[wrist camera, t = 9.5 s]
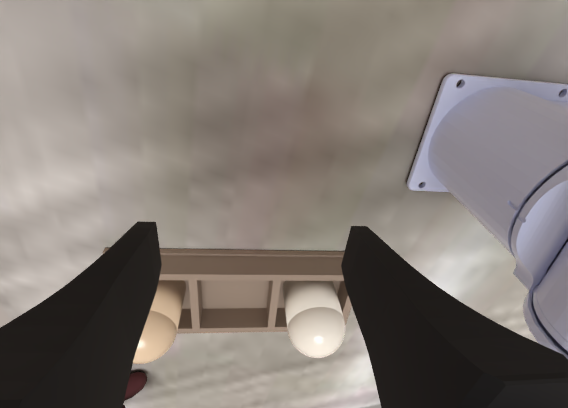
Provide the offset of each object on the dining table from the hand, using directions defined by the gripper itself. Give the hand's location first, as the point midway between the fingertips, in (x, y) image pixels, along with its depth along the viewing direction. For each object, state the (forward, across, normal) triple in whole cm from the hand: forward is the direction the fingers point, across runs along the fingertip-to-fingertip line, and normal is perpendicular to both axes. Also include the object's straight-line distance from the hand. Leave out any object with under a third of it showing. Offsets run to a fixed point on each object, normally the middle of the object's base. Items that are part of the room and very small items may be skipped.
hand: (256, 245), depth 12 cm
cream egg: (+10, -6, +13) cm, 17 cm away
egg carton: (+10, +1, +13) cm, 17 cm away
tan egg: (+10, +7, +13) cm, 18 cm away
